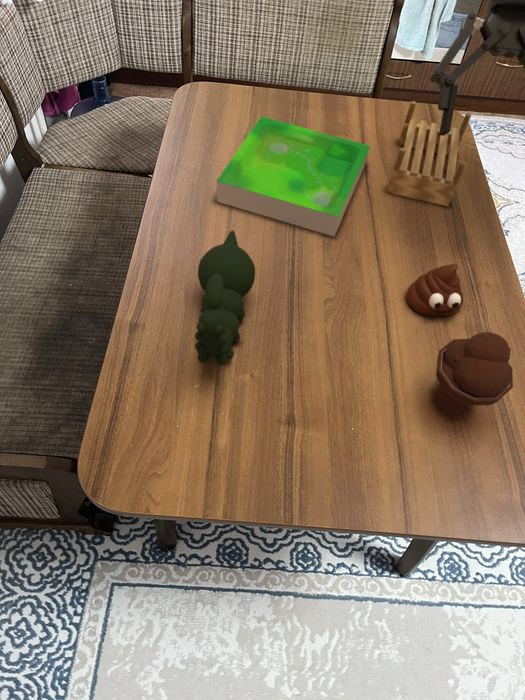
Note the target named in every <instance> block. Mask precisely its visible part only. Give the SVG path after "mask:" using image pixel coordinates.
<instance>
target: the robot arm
mask: <svg viewBox="0 0 525 700" xmlns="http://www.w3.org/2000/svg"><path fill="white" fill-rule="evenodd" d="M477 30H479V33H480V35H481V37H482V39H483V41H484V42H483V43H481V45H480V46H478V47H477V48H476V49H475V50H474V51H473V52H472V53H471V54H470V55H469V56H468V57H467V58H465V60H463V61H462V62H461V63H460V64H459V65H458V66H457V67H456V68H454V70H453V71H451V73H450V74H448V73H446V71H447V70H448V68H449V66H450V65H451V64H452V62H453V61H454V59H455V58H456V56H457V54H458V53H459V51H460V50H461V49H462V47H463V46H464V44H465V43H466V41H467V40H468V38H469V37H470V36H472V35H474V33H476V32H477ZM487 52H489V53H490V54H491V56H492V57H504V58H506V59H514V58H516V59H517V61H518V63H519V64H521V65H522V67H523V69H524V70H525V0H487V3H486V10H485V16H484V18H481V17H477V14H476V13H475V12H473V11H471V12H469V13H468V14H467V16H466V17H465V18H464V19H463V20H462V21H461V25H460V28H459V31H458V35H457V36H456V37H455V39H454V41H453V42H452V43H451V45H450V47H449V48H448V49H447V51H446V52H445V53H444V55H443V57H442V59H441V60H440V61H439V63H438V64H437V66H436V67H435V69H434V70H433V72H432V73H431V75H430V77H429V81H430V82H431V83H432V84H434V83H435V84H436V85H438V88H439V90H440V92H439V97H438V103H437V110H438V111H442V116H441V122H440V127H439V128H440V132H439V135H442V136H444V135H446V134H447V133H449V132H450V130H452V129H451V128H452V123H453V117H454V112H455V106H456V101H457V95H458V90H459V89H458V88H459V85H458V84H453V83H454V82H456V81H457V79H459V78H460V77H461V76H462V75H463V74H464V73H465V72H466V71H467V70H468V69H469V68H470V67H471V66H473V65H475V63H476V62H477V61H479V59H481V57H482V56H484V55H485V53H487Z"/></svg>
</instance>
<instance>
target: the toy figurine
mask: <svg viewBox="0 0 525 700" xmlns="http://www.w3.org/2000/svg"><path fill="white" fill-rule="evenodd" d="M253 261H254V260H253V259H252V257H251V256H250V254H249V253H248V252H247V251H246V250H245V249H243V248H241V247H240V246H239V244H238V240H237V236H236V232H235V230H230V231H229V233H228V234H227V236H226V238H225V240H224V242H223V243H221V244H218V245H216V246H213V247H211V248H210V249H208V250H207V251H206V252H205V253H204V254H203V256H202V257H201V259H200V261H199V263H198V267H197V268H198V269H197V278H198V282H199V285H200V287H201V289H202V290H203V291H204V293H203V294H202V295H203V296H202V298H201V308H200V315H199V318H198V322H197V324H196V330H197V331H196V332H195V333H194V338H195V340H197V342H196V343H195V345H194V348H195V350H196V353H197V361H199V362H200V363H201V364H206V363H207V362H209V360H210V358H211V359H212V358H214V359H215V362H216V364H218V365H220V366H222V365H225V364H226V363H227V362H228V361H230V360H232V359H233V357H234V356H235V351H234V350H233V348H232V345H233V344H237V343H238V342H239V341H240V339H241V335H240V332H239V329H240V322H241V321H242V320H244V318H245V317H246V311H245V309H244V299H243V298H244V297H245V296H247V295H248V293H249V292H250V291H251V289H252V287H253V285H254V283H255V281H256V280H255V279H256V266H255V264H254V262H253Z"/></svg>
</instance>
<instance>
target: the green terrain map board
mask: <svg viewBox="0 0 525 700" xmlns="http://www.w3.org/2000/svg"><path fill="white" fill-rule="evenodd" d="M370 147H371V145H369V144H366V143H362V142H359V141H354V140H352V139H351V140H350V139H347V138H343V137H340V136H336V135H333V134H329V133H325V132H321V131H318V130H314V129H311V128H310V129H309V128H307V127H303V126H299V125H295V124H291V123H287V122H284V121H280V120H277V119H273V118H270V117H265V116H260V118H259V119H258V120H257V122H256V124H254V126H253V128H252V129H251V131H250V132H249V133H248V135H247V136H246V137H245V139H244V141H243V142H242V143H241V145H240V146H239V148H238V150H237V151H236V152H235V154H234V155H233V157H232V158H231V159H230V161H229V162H228V164H227V165H226V167H225V168H224V170H223V171H222V172H221V174H220V175H219V177H218V178H217V180H216V202H217V203H221V204H224V205H227V206H231V207H233V208H236V209H240V210H243V211H247V212H250V213H254V214H257V215H260V216H263V217H267V218H269V219H274V220H276V221H277V220H278V221H279V222H283V223H287V224H289V225H293V226H297V227H300V228H304V229H308V230H310V231H313V232H317V233H320V234H324V235H326V236H330V237H334V238H335V236H336V234H337V232H338V229H339V227H340V224H341V222H342V220H343V218H344V215H345V213H346V211H347V209H348V207H349V204H350V202H351V199H352V197H353V194H354V192H355V190H356V187H357V186H358V183H359V181H360V179H361V176H362V174H363V171H364V169H365V167H366V163H367V160H368V156H369V152H370Z"/></svg>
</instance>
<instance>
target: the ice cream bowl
mask: <svg viewBox="0 0 525 700" xmlns="http://www.w3.org/2000/svg"><path fill="white" fill-rule="evenodd" d="M511 349H512V348H511V347H510V346H509V343H508V341H507V340H506V338H504V337H503V336H501V335H500V334H498V333H493V332H491V331H486V332H485V331H484V332H483V331H482V332H479V333H476V334H475V335H473V336H471V337H470V338H456V339H455V338H453V339H452V340H451V341H450V342H448V343H447V344H446V345H444V346H443V347H442V348H441V349H439V350H438V353H437V359H436V372H435V373H436V376H435V377H436V380H437V382H438V383H439V385H440V386H441V388H440V389H439V390H437V391H436V392H435V397H434V402H435V404H436V406H437V407H438V409H439V411H440V412H442V413H444V414H445V415H448V416H450V417H455V418H456V417H463V416H465V414H467V413H468V412H469V410H470V407H473V406H475V407H477V406H478V407H479V406H492V405H494V404H497V402H499V401H501V399H502V398H503V397H505V396H506V395H507V394H508V393H509V392H510V391H512V389H513V388H514V380H513V379H514V378H513V377H514V376H513V367H512V366H511V364H510V363H509V361H510V359H511V351H512V350H511Z"/></svg>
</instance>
